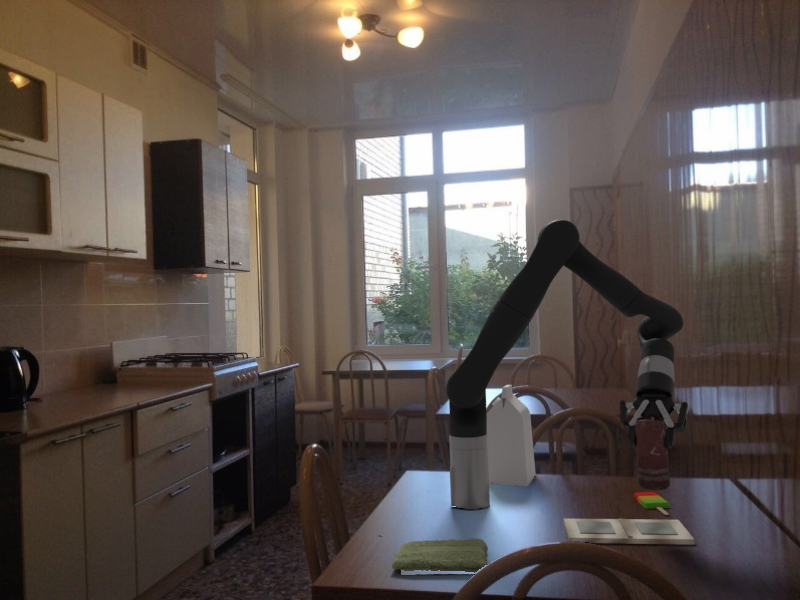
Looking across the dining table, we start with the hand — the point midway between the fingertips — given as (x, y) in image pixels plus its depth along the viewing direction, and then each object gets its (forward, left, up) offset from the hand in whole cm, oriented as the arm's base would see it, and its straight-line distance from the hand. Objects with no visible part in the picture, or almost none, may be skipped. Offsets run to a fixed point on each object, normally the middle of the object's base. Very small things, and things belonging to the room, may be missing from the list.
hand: (650, 445), depth 133 cm
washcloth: (-42, -16, -19) cm, 49 cm away
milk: (-28, +44, -19) cm, 56 cm away
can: (+1, +2, -9) cm, 9 cm away
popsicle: (+5, +21, -19) cm, 29 cm away
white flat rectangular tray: (-5, +1, -18) cm, 19 cm away
